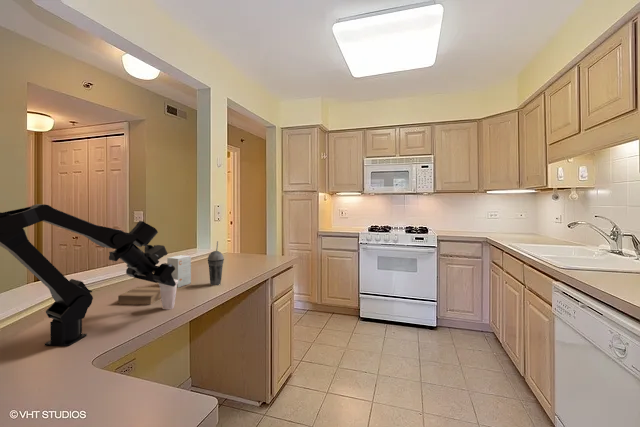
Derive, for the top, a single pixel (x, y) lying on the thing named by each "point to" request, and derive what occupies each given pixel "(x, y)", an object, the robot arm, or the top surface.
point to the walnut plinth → (140, 296)
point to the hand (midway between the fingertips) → (166, 283)
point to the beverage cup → (215, 266)
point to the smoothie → (168, 295)
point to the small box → (181, 269)
